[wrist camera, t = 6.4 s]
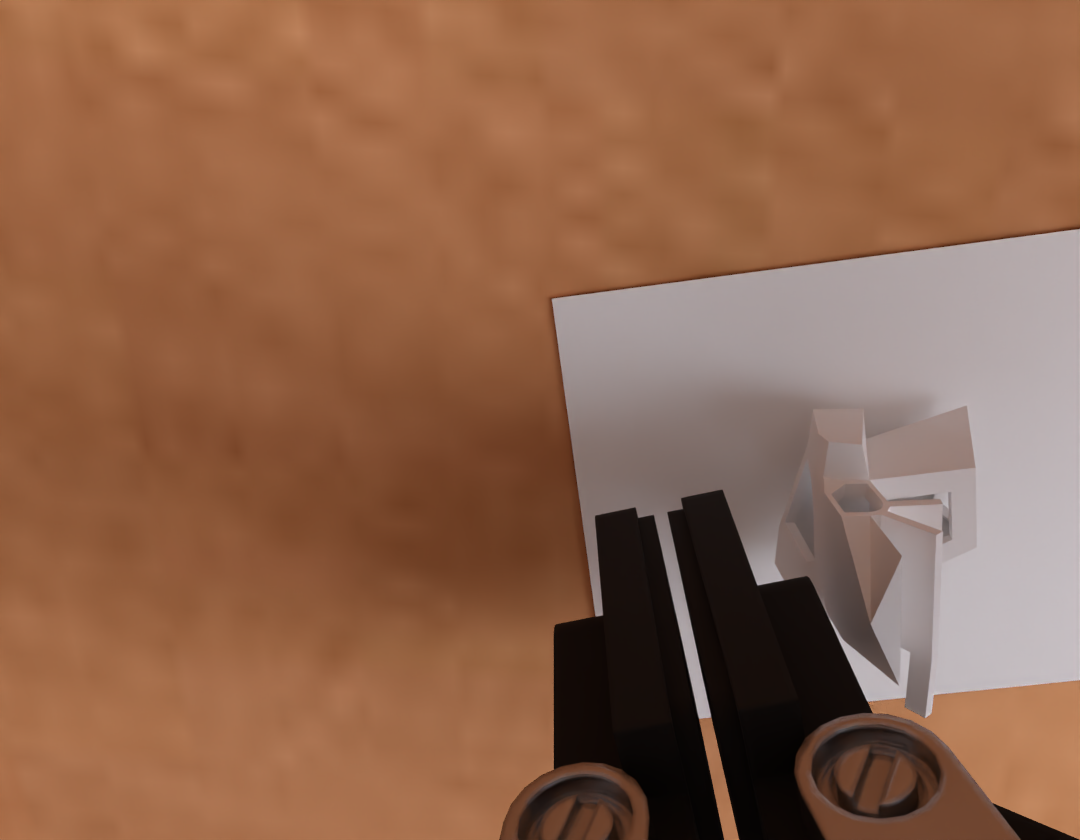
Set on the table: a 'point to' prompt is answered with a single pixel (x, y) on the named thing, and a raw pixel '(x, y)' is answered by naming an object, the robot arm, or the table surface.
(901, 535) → the adhesive hook
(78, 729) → the table surface
